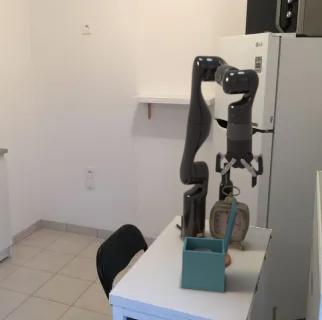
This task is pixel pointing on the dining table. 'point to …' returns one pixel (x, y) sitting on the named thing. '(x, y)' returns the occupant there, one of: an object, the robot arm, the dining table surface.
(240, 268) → the dining table surface
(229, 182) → the wine bottle
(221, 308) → the dining table surface
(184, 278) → the teal open box
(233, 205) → the teal box lid
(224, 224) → the tabletop clock
